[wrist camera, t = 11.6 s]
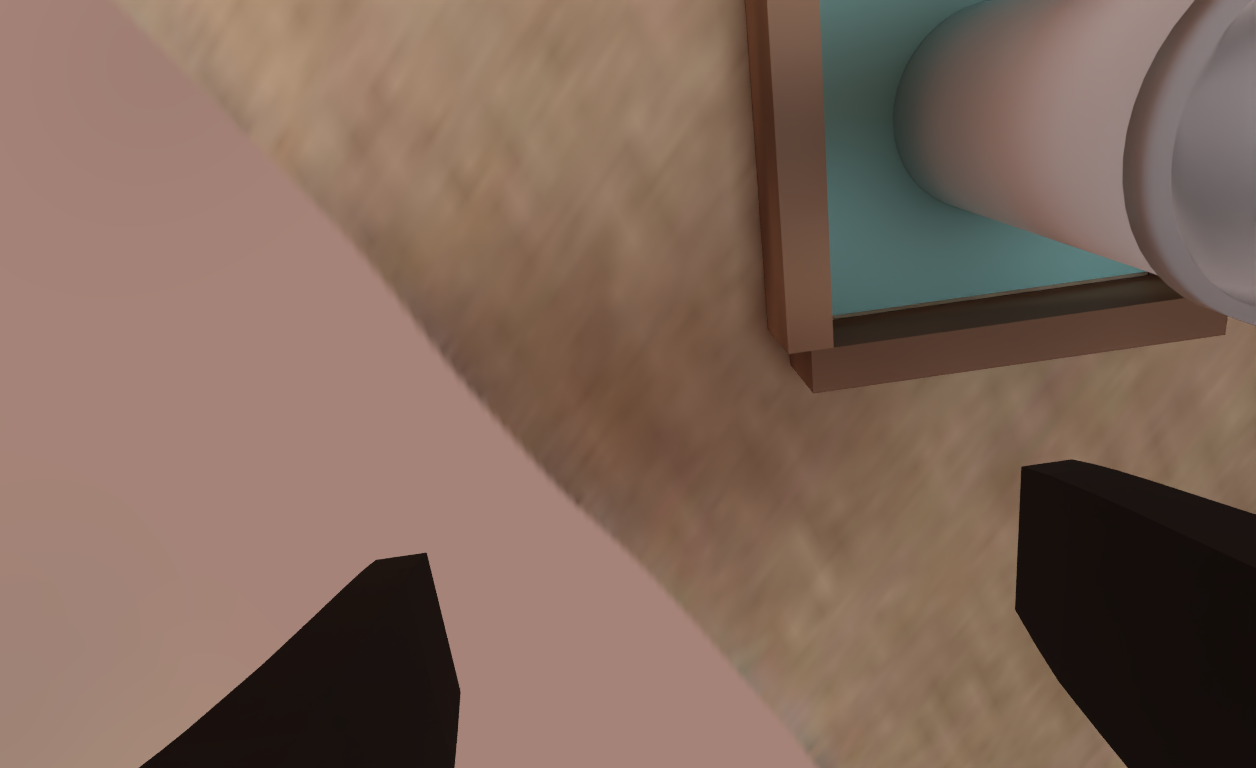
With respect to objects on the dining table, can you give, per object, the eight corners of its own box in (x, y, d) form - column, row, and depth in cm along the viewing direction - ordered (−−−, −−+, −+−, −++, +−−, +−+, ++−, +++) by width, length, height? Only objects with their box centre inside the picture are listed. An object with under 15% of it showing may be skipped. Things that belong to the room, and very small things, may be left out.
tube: (1091, 202, 19) (1506, 301, 10) (886, 232, 19) (1136, 355, 10) (1107, -28, 17) (1616, -130, 9) (881, 4, 17) (1176, -66, 9)
